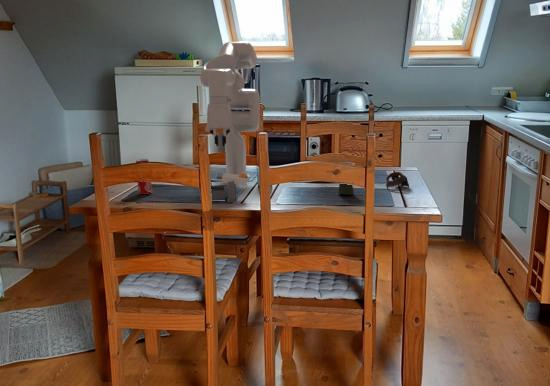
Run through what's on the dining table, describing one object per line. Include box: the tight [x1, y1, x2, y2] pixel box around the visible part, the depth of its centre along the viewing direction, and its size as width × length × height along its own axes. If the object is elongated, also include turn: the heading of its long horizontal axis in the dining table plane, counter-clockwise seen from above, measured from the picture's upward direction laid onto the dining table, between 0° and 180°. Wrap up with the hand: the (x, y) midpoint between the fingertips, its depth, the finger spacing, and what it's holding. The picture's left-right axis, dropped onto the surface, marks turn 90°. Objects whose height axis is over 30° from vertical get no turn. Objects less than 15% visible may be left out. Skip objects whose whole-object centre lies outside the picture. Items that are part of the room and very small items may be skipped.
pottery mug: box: [385, 171, 410, 190], centre depth 252 cm, size 12×10×8 cm
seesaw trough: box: [216, 172, 250, 186], centre depth 241 cm, size 13×13×3 cm
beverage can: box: [135, 158, 153, 195], centre depth 250 cm, size 6×6×15 cm
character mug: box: [338, 161, 356, 196], centre depth 241 cm, size 11×7×13 cm, turn 172°
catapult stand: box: [226, 181, 239, 203], centre depth 239 cm, size 14×4×8 cm, turn 1°
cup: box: [211, 180, 228, 200], centre depth 239 cm, size 9×7×8 cm
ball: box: [239, 172, 248, 179], centre depth 238 cm, size 4×4×4 cm
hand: (220, 145), depth 242 cm, fingers closed
